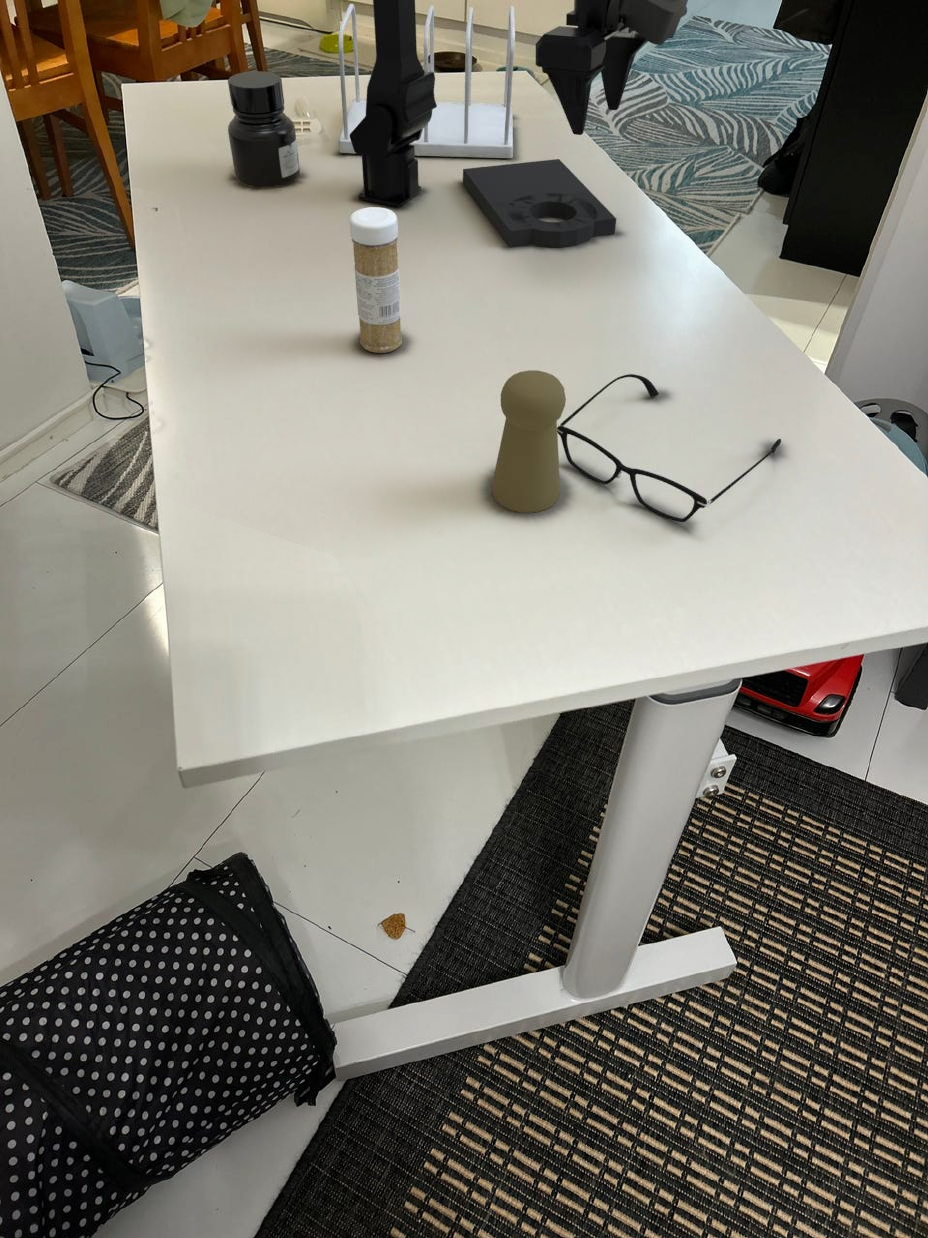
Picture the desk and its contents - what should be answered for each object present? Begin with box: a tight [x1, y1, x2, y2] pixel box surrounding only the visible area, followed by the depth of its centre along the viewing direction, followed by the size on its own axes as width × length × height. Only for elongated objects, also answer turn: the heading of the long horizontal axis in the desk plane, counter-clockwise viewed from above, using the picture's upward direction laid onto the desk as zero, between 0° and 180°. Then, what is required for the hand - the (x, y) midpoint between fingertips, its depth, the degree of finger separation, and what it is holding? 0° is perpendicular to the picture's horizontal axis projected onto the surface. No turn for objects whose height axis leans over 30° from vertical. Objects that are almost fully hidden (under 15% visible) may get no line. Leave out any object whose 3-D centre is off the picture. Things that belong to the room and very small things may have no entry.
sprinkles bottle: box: [349, 206, 403, 354], centre depth 90 cm, size 5×5×14 cm
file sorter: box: [338, 3, 516, 159], centre depth 130 cm, size 25×17×16 cm
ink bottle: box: [227, 70, 301, 188], centre depth 120 cm, size 10×9×12 cm
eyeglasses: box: [557, 373, 782, 523], centre depth 81 cm, size 16×16×4 cm
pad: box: [462, 158, 617, 248], centre depth 117 cm, size 22×14×2 cm, turn 17°
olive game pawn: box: [491, 369, 567, 514], centre depth 75 cm, size 6×6×11 cm
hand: (596, 121), depth 101 cm, fingers open, 9 cm apart
